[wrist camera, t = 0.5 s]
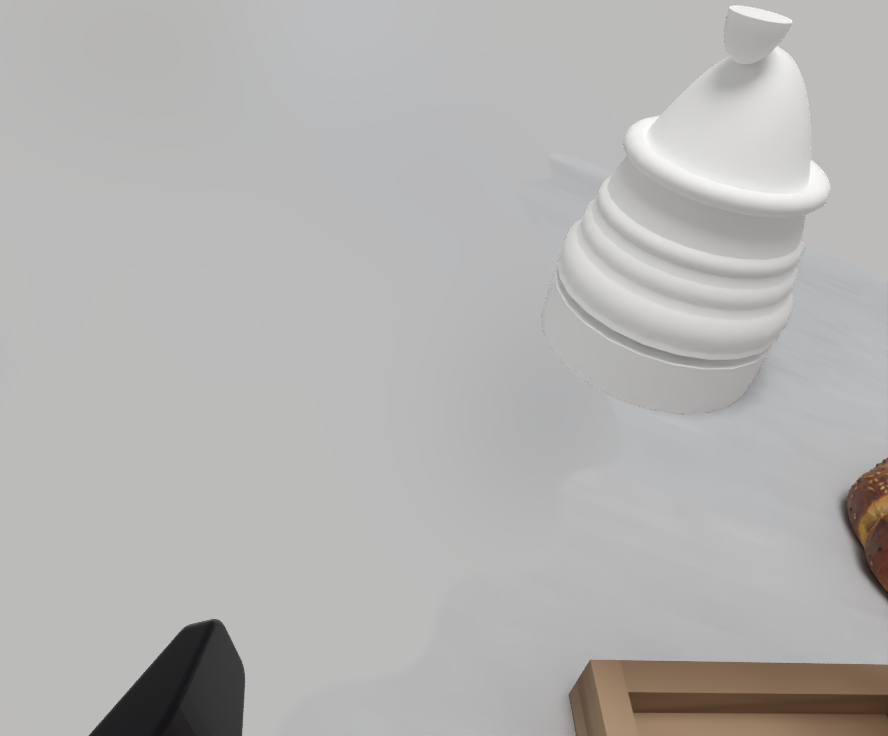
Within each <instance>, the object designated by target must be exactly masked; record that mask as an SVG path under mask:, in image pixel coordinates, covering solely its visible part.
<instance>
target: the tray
mask: <svg viewBox="0 0 888 736" xmlns="http://www.w3.org/2000/svg"><path fill="white" fill-rule="evenodd" d="M569 696H570V702H571V707H572V712H573V718H574V723H575V729H576V734H577V736H888V665H874V664H813V663H753V662H693V661H633V660H590V661H589V663H588V664H587V666H586V668H585V669H584V671H583V672H582V674H581V675H580V677H579V679H578V680H577V682H576V683H575V685H574V687H573V688H572V690H571V691H570V693H569Z"/></svg>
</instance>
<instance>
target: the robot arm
mask: <svg viewBox="0 0 888 736" xmlns="http://www.w3.org/2000/svg"><path fill="white" fill-rule="evenodd" d="M244 690H245V673H244V667H243V664H242V661H241V659H240V657H239V655H238V653H237V651H236V649H235V647H234V645H233V642H232V640H231V638H230V636H229V635H228V632H227V630H226V628H225V626H224V625H223V623H222V622H221V621H220V620H217V619H212V620H207V621H203V622H198V623H194V624H190V625H188V626H186V627H184V628H183V629H182V630H181V631H180V632H179V634H178V635H177V636H176V637H175V638H174V640H172V642H171V643H170V644H169V645H168V646H167V647H166V648H165V649H164V651H163V652H162V653H161V654H160V655H159V656H158V657H157V659H156V660H155V661H154V662H153V663H152V664H151V665H150V667H149V668H148V669H147V670H146V671H145V672H144V673H143V675H142V676H141V677H140V678H139V679H138V680H137V681H136V682H135V684H134V685H133V686H132V687H131V688H130V689H129V691H128V692H127V693H126V694H125V695H124V696H123V697H122V698H121V700H120V701H119V702H118V703H117V704H116V705H115V706H114V707H113V709H112V710H111V711H110V712H109V713H108V714H107V715H106V717H105V718H104V719H103V720H102V721H101V722H100V723H99V725H98V726H97V727H96V728H95V729H94V730H93V731H92V733H91V734H90V735H89V736H242V726H243V708H244Z"/></svg>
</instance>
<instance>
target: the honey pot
mask: <svg viewBox="0 0 888 736" xmlns="http://www.w3.org/2000/svg"><path fill="white" fill-rule="evenodd" d="M791 23H792V21H791V20H790V19H789V18H787V17H784V16H782V15H779V14H776V13H773V12H769V11H766V10H762V9H758V8H753V7H746V6H730V8H729V11H728V14H727V17H726V22H725V28H724V42H725V47H726V50H727V52H728V54H729V56H728V57H726V58H725V59H723V60H722V61H720V62H718V63H717V64H716V65H714V66H713V67H711V68H710V69H709V70H707V71H706V72H705V73H704V74H702V75H701V76H700V77H699V78H698V79H697V80H695V81H694V82H693V83H692V84H691V85H690V86H689V87H688V88H686V89H685V90H684V92H682V93H681V94H680V95H679V96H678V97H677V98H676V99H675V100H674V101H673V102H672V104H671V105H670V106H669V107H668V108H667V109H666V110H665V111H664V112H663V113H662V114H661V115H660V116H655V117H651V118H646V119H643V120H640V121H638V122H637V123H635V124H634V125H632V126H631V127H630V128H628V130H627V132H626V135H625V138H624V141H623V145H624V149H625V151H626V154H627V156H626V158H625V159H624V160H623V161H622V163H621V164H620V165H619V167H618V168H617V170H616V171H615V172H614V173H613V174H612V175H611V176H609V177H608V178H607V179H605V180H604V181H603V182H602V184H601V186H600V189H599V192H598V194H597V197H596V198H595V199H593V200H592V201H591V202H590V203H589V205H588V206H587V208H586V211H585V213H584V216H583V217H582V218H581V219H579V220H578V221H577V222H576V223H574V224H573V225H572V226H571V228H570V230H569V231H568V233H567V235H566V238H565V240H564V243H563V245H562V250H561V254H560V256H559V259H558V261H557V262H558V264H557V266H556V269H555V271H554V275H553V278H552V281H551V285H550V288H549V292H548V295H547V298H546V302H545V305H544V308H543V312H542V327H543V333H544V335H545V337H546V339H547V341H548V343H549V345H550V347H551V349H552V351H553V352H554V353H555V354H556V355H557V356H558V357H559V359H560V360H561V361H562V362H563V363H564V364H565V365H566V366H567V368H568V369H570V370H571V371H572V372H574V373H575V374H576V375H578V376H579V377H581V378H582V379H583V380H584V381H586V382H587V383H588V384H590V385H591V386H593V387H595V388H597V389H599V390H601V391H603V392H605V393H607V394H609V395H611V396H613V397H615V398H617V399H619V400H622V401H625V402H628V403H631V404H635V405H638V406H641V407H644V408H647V409H650V410H657V411H663V412H670V413H677V414H692V413H709V412H712V411H715V410H718V409H722V408H725V407H728V406H730V405H731V404H733V403H734V402H735V401H737V400H738V399H739V398H741V397H742V396H743V395H744V394H745V393H746V391H747V389H748V388H749V386H750V384H751V383H752V381H753V379H754V378H755V376H756V375H757V373H758V371H759V370H760V368H761V366H762V365H763V363H764V361H765V360H766V358H767V356H768V355H769V353H770V351H771V349H772V347H773V345H774V344H775V343H776V341H777V339H778V337H779V335H780V333H781V331H782V330H783V329H784V328H785V327H786V324H787V322H788V320H789V317H790V315H791V313H792V309H793V306H794V299H793V293H792V288H793V286H794V284H795V282H796V280H797V276H798V268H797V263H798V262H799V260H800V258H801V256H802V254H803V252H804V249H805V246H804V240H803V236H802V233H803V227H804V220H805V215H807V214H809V213H810V212H813V211H815V210H817V209H819V208H820V207H822V206H823V205H824V204H825V203H826V201H827V199H828V197H829V195H830V192H831V187H830V183H829V180H828V177H827V175H826V174H825V173H824V172H823V171H822V169H821V168H820V167H819V166H818V165H817V164H816V163H815V162H814V161H812V160H811V120H810V111H809V103H808V97H807V92H806V88H805V84H804V81H803V78H802V75H801V73H800V70H799V69H798V66H797V64H796V63H795V62H794V60H793V59H792V57H791V56H790V55H789V54H788V53H786V52H785V51H784V50H782V49H781V48H779V47H778V44H779V43H780V42H781V41H782V39H783V38H784V36H785V35H786V33H787V32H788V30H789V28H790V26H791Z"/></svg>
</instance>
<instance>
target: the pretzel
mask: <svg viewBox="0 0 888 736" xmlns="http://www.w3.org/2000/svg"><path fill="white" fill-rule="evenodd" d="M847 500H848V501H847V512H848V516H849V520H850V523H851V525H852V527H853V530H854V533H855V535H856V536H857V537H858V538H859V540H860V541H861V543H862V545H863V547H864V549H865V556H866V559H867V561H868V564H869V568H870V569H871V570H872V572H873V573H874V575H875V576H876V578H877V579H878V580H879V582H880V583H881V585H882V586H883V587H884V588H885V590H886V591H887V592H888V458H887V459H884V460H883V461H882V463H879V464H877V465H876V467H875V468H874V469H872V470H870V472H867V473H865V474H863V475H862V477H860V478H859V479H858V480H857V482H856V483H855V484H854V485H852V488H851V489H850V490H849V493H848V497H847Z"/></svg>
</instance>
